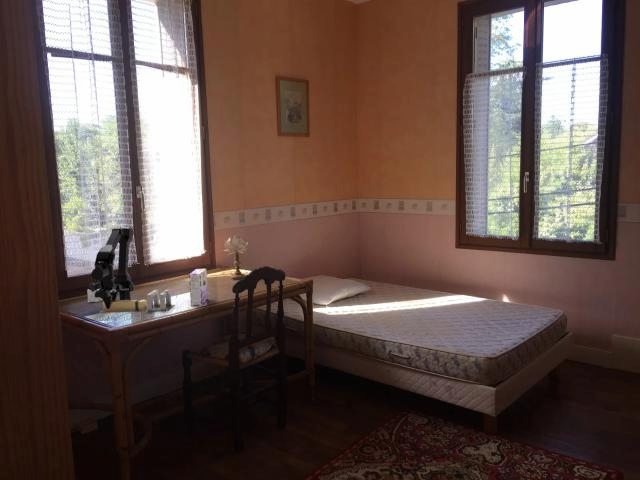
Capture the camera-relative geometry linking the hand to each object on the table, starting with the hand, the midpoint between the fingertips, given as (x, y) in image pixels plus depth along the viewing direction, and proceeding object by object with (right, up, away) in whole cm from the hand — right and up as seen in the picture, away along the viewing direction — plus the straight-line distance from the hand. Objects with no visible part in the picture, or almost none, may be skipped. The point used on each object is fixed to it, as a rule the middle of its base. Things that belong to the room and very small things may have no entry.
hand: (110, 307), depth 261 cm
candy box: (+41, +1, +13) cm, 43 cm away
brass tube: (+8, -1, 0) cm, 8 cm away
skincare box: (-15, 0, +21) cm, 25 cm away
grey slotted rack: (+14, -1, 0) cm, 14 cm away
